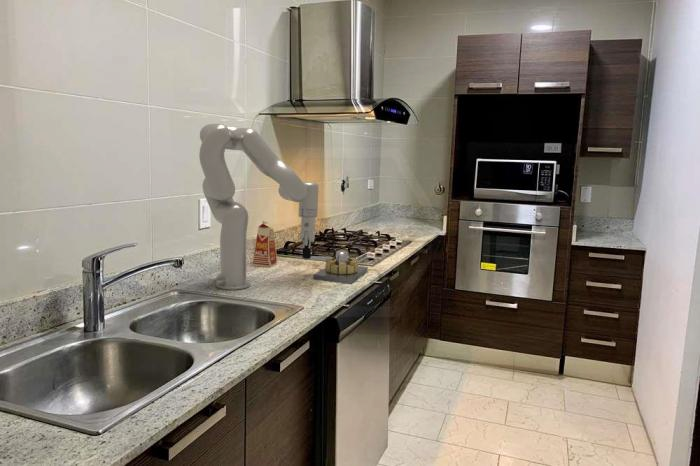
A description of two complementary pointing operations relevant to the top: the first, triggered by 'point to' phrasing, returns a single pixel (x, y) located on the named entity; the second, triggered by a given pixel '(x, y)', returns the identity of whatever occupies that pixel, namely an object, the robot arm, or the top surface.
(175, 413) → the top surface
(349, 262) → the tan ring with lever
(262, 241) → the milk carton
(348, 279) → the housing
